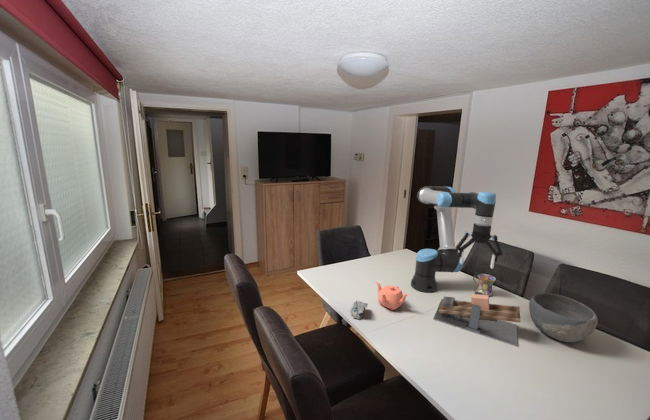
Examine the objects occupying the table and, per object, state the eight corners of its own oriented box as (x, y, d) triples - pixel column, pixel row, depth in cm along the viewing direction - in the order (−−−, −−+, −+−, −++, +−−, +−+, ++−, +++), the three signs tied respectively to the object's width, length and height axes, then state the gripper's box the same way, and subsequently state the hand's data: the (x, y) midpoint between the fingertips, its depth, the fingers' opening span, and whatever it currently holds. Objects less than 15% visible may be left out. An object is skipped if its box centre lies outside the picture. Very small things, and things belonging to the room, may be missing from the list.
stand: (433, 319, 141) (436, 296, 138) (440, 303, 156) (442, 282, 153) (517, 346, 123) (522, 320, 120) (516, 325, 138) (520, 301, 135)
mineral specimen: (353, 321, 146) (371, 322, 141) (346, 317, 140) (364, 318, 135) (355, 303, 151) (372, 303, 146) (348, 297, 145) (366, 297, 140)
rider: (472, 311, 137) (471, 297, 136) (473, 307, 141) (472, 293, 140) (489, 313, 133) (487, 299, 133) (489, 309, 137) (488, 295, 136)
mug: (495, 294, 168) (498, 277, 166) (489, 299, 162) (492, 282, 160) (474, 286, 177) (477, 270, 175) (468, 291, 171) (470, 274, 169)
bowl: (575, 359, 117) (583, 326, 113) (514, 326, 138) (519, 298, 135) (602, 342, 128) (610, 312, 125) (541, 314, 149) (547, 287, 146)
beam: (438, 317, 142) (437, 304, 142) (443, 306, 153) (442, 294, 152) (521, 328, 124) (519, 313, 123) (520, 314, 134) (518, 300, 133)
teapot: (407, 313, 146) (409, 293, 144) (380, 312, 146) (381, 293, 143) (399, 298, 160) (400, 280, 158) (374, 298, 160) (375, 280, 157)
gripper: (455, 223, 137) (449, 264, 142) (514, 229, 129) (506, 272, 134) (453, 219, 144) (448, 258, 149) (510, 225, 136) (503, 266, 141)
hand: (476, 265), depth 141 cm, fingers open, 13 cm apart
